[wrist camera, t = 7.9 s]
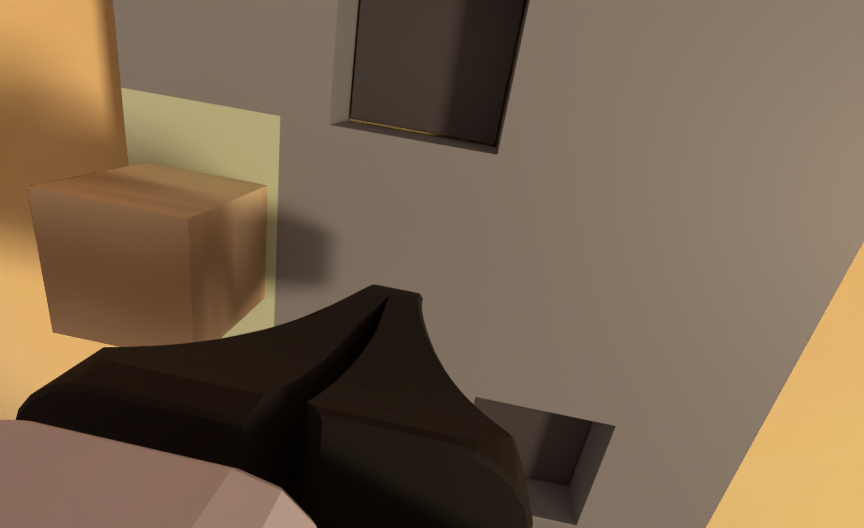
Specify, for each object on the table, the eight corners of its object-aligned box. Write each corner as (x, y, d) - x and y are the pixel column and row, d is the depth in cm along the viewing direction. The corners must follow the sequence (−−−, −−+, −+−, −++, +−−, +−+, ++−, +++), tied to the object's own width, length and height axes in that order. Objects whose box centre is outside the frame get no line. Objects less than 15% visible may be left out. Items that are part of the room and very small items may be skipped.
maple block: (264, 298, 16) (194, 362, 12) (155, 275, 16) (52, 332, 12) (267, 185, 14) (188, 218, 10) (147, 162, 14) (26, 186, 11)
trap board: (666, 520, 19) (685, 565, 18) (185, 414, 21) (155, 446, 19) (927, -4, 12) (1008, -21, 10) (152, -121, 13) (97, -155, 11)
